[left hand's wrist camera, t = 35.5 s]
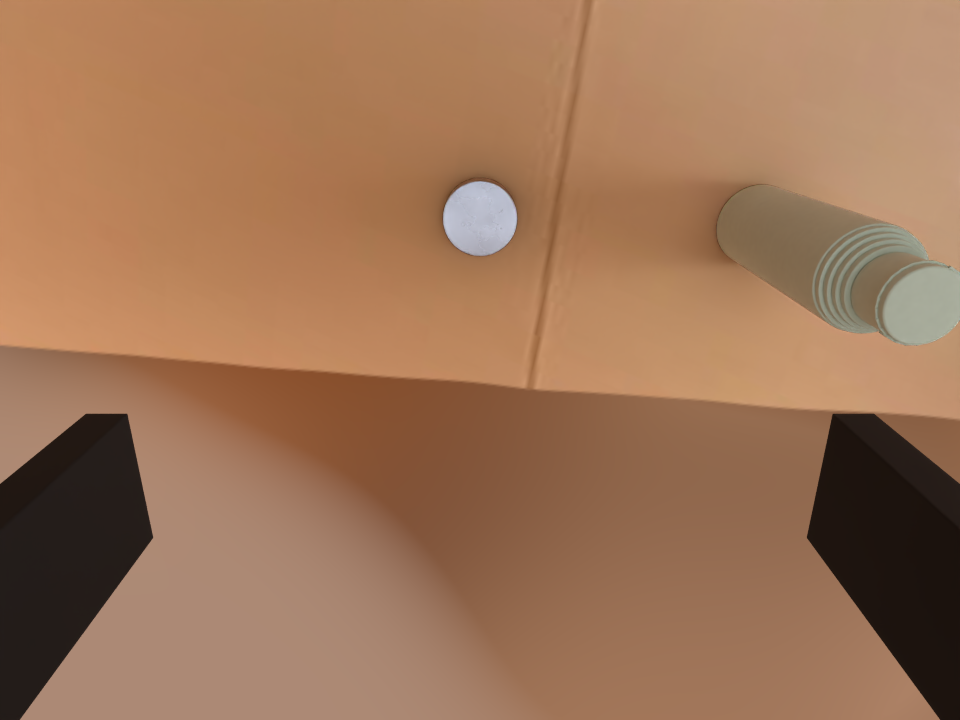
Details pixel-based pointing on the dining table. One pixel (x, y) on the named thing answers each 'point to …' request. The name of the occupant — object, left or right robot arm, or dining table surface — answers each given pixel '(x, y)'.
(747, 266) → the bottle
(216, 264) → the dining table surface
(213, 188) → the dining table surface
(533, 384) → the dining table surface
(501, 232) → the cap
